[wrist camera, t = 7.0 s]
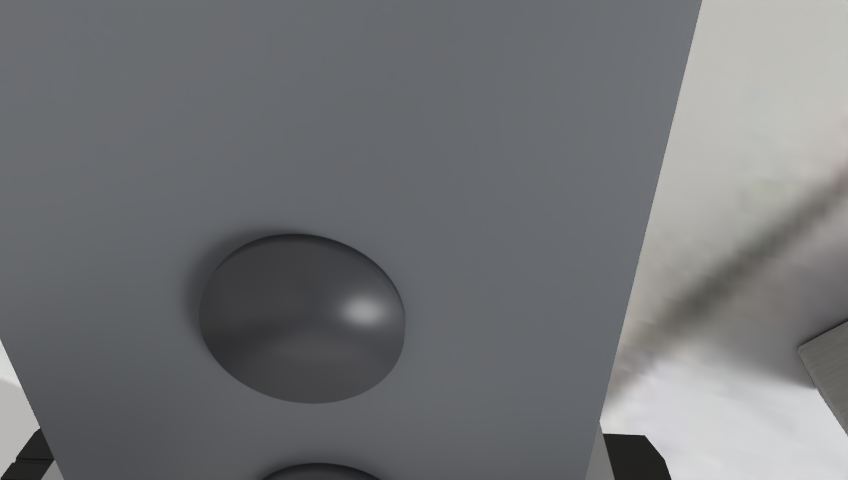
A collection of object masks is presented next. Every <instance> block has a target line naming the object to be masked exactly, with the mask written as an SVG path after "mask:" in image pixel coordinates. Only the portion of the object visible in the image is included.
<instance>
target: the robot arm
mask: <svg viewBox="0 0 848 480" xmlns="http://www.w3.org/2000/svg"><path fill="white" fill-rule="evenodd" d="M1 480H64V479H63V476H62V474H61V472H60V470H59V468H58V465H57V463H56V461H55V459H54V457H53V454H52V452H51V450H50V448H49V446H48V443H47V441H46V439H45V437H44V434H43V432H42V430H41V428H40V429H38V430H37V431H36V432H35V433H34V434H33V435H32V437H31V438H30V439H29V441H28V442H27V444H26V445H25V446H24V447H23V449H22V450H21V451H20V453H19V454H18V456H17V457H16V461H15V463H12V464H11V465H10V466H9V468H8V469H7V470H6V472H5V473H4V474H3V476H2V477H1ZM585 480H671V477H670V474H669V471H668V468H667V465H666V463H665V460H664V459H663V457H662V456H661V455H660V454H659V452H658V451H657V450H656V449H655V448H654V446H653V445H652V444H651V443H650V441H649V440H648V439H647V438H646V437H645V435H624V434H603V433H602V429H601V426H600V422H599V424H598V428H597V433H596V437H595V441H594V445H593V449H592V453H591V457H590V461H589V465H588V469H587V474H586V478H585Z"/></svg>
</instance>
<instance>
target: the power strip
mask: <svg viewBox="0 0 848 480" xmlns="http://www.w3.org/2000/svg"><path fill="white" fill-rule="evenodd" d="M701 2H702V0H0V339H1V342H2V344H3V346H4V348H5V351H6V353H7V355H8V357H9V359H10V362H11V364H12V366H13V368H14V370H15V373H16V375H17V377H18V379H19V381H20V384H21V386H22V388H23V390H24V392H25V395H26V397H27V399H28V401H29V404H30V406H31V408H32V410H33V412H34V415H35V417H36V419H37V421H38V423H39V426H40V428H41V430H42V432H43V434H44V437H45V439H46V441H47V443H48V446H49V448H50V450H51V452H52V454H53V457H54V459H55V461H56V463H57V465H58V468H59V470H60V472H61V474H62V476H63V479H64V480H585V478H586V474H587V469H588V465H589V461H590V457H591V453H592V449H593V445H594V441H595V437H596V433H597V428H598V424H599V420H600V416H601V412H602V408H603V404H604V400H605V396H606V392H607V387H608V383H609V379H610V375H611V371H612V367H613V363H614V359H615V355H616V351H617V346H618V342H619V338H620V334H621V330H622V326H623V322H624V318H625V314H626V310H627V305H628V301H629V297H630V293H631V289H632V285H633V281H634V277H635V273H636V269H637V265H638V260H639V256H640V252H641V248H642V244H643V240H644V236H645V232H646V228H647V224H648V219H649V215H650V211H651V207H652V203H653V199H654V195H655V191H656V187H657V183H658V178H659V174H660V170H661V166H662V162H663V158H664V154H665V150H666V146H667V142H668V137H669V133H670V129H671V125H672V121H673V117H674V113H675V109H676V105H677V101H678V96H679V92H680V88H681V84H682V80H683V76H684V72H685V68H686V64H687V60H688V55H689V51H690V47H691V43H692V39H693V35H694V31H695V27H696V23H697V19H698V14H699V10H700V6H701Z"/></svg>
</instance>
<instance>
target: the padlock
mask: <svg viewBox="0 0 848 480" xmlns="http://www.w3.org/2000/svg"><path fill="white" fill-rule="evenodd" d="M798 354H799V356H800V358H801V360H802V362H803V363H804V365H805V367H806V369H807V371H808V373H809V375H810V377H811V378H812V380H813V382H814V384H815V386H816V388H817V390H818V391H819V393H820V395H821V396H822V398H823V399H824V401H825V403H826V404H827V405H828V407H829V408H830V410H831V411H832V413H833V415H834V416H835V417H836V419H837V420H838V422H839V424H840V425H841V426H842V428H843V429H844V431H845V433H846V434H847V435H848V321H847V322H845V323H843V324H841V325H839V326H838V327H836V328H834V329H832V330H830V331H828V332H826V333H824V334H822V335H820V336H819V337H817V338H815V339H813V340H811V341H809V342H807V343H805V344H803V345H802V346H800V347H799V348H798Z"/></svg>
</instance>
